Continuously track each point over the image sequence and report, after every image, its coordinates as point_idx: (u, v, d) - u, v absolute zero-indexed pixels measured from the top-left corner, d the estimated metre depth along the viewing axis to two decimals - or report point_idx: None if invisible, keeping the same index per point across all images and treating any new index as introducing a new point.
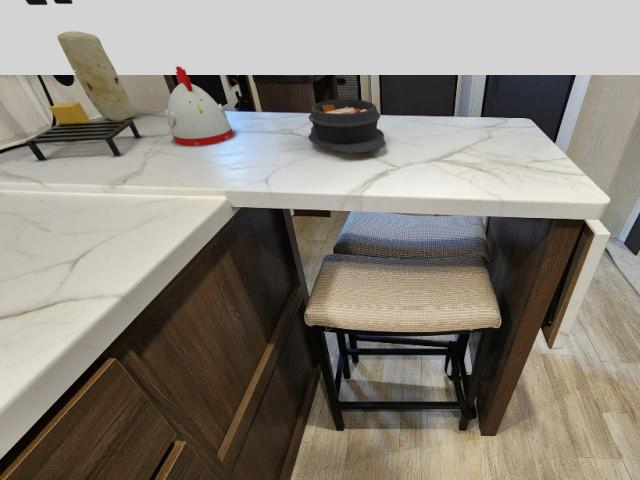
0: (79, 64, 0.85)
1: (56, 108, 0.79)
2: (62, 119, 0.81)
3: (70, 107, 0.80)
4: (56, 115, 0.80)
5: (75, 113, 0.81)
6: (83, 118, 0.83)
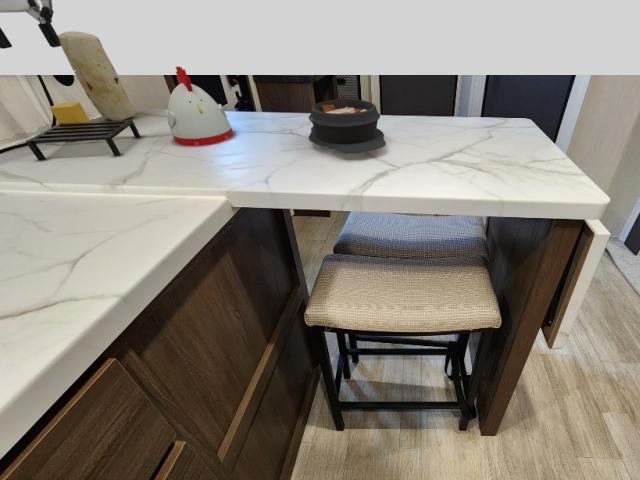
0: (79, 64, 0.85)
1: (56, 108, 0.79)
2: (62, 119, 0.81)
3: (70, 107, 0.80)
4: (56, 115, 0.80)
5: (75, 113, 0.81)
6: (83, 118, 0.83)
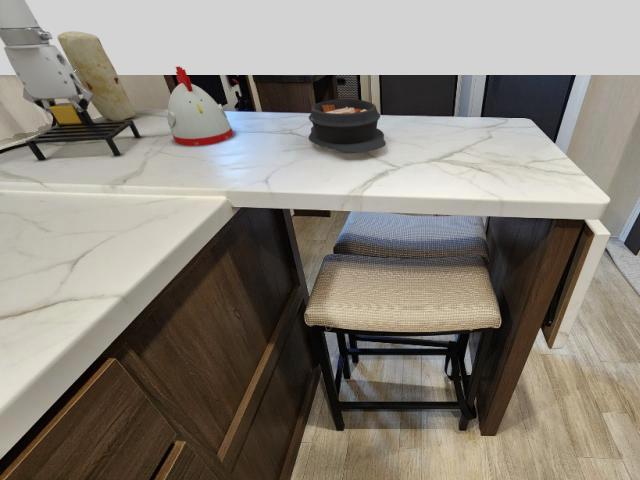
0: (79, 64, 0.85)
1: (56, 108, 0.79)
2: (62, 119, 0.81)
3: (70, 107, 0.80)
4: (56, 115, 0.80)
5: (75, 113, 0.81)
6: None
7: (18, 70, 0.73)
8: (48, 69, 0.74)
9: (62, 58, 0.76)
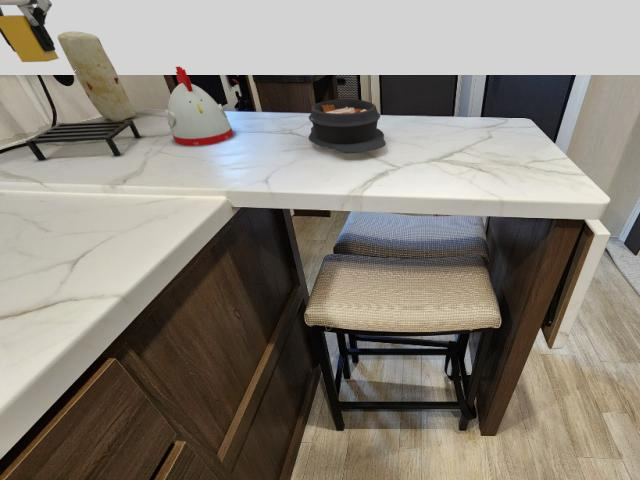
0: (79, 64, 0.85)
1: (2, 18, 0.62)
2: (11, 34, 0.64)
3: (21, 17, 0.63)
4: (3, 28, 0.63)
5: (28, 26, 0.64)
6: None
7: None
8: None
9: None
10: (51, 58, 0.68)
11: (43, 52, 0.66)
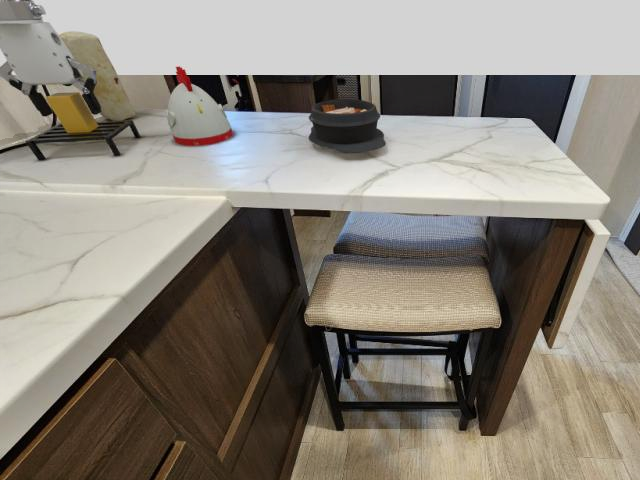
0: None
1: (53, 98, 0.70)
2: (60, 111, 0.71)
3: (69, 97, 0.70)
4: (53, 106, 0.70)
5: (74, 104, 0.71)
6: (83, 110, 0.74)
7: (6, 50, 0.64)
8: (41, 49, 0.64)
9: (57, 37, 0.66)
10: (92, 128, 0.76)
11: (86, 124, 0.74)
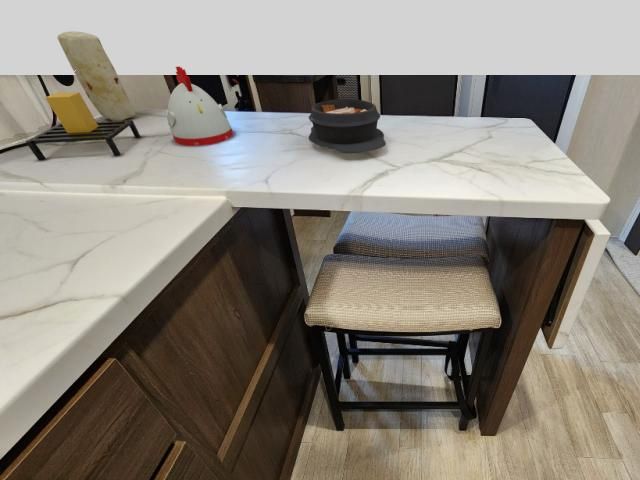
0: (79, 64, 0.85)
1: (53, 98, 0.70)
2: (60, 111, 0.71)
3: (69, 97, 0.70)
4: (53, 106, 0.70)
5: (74, 104, 0.71)
6: (83, 110, 0.74)
7: None
8: None
9: None
10: (92, 128, 0.76)
11: (86, 124, 0.74)
